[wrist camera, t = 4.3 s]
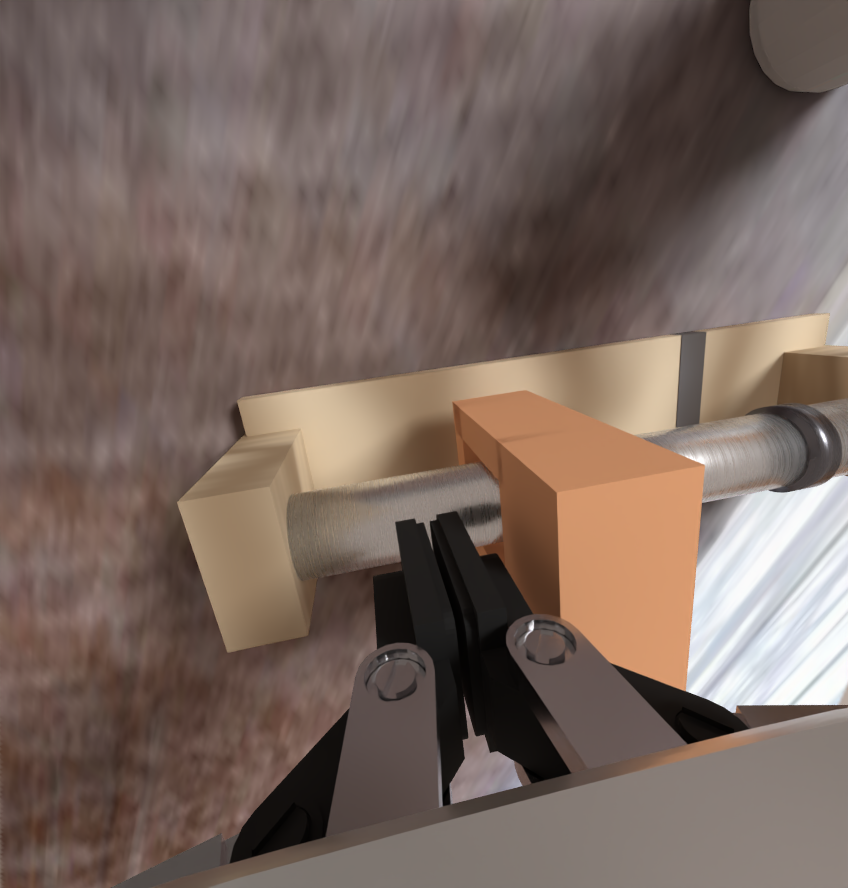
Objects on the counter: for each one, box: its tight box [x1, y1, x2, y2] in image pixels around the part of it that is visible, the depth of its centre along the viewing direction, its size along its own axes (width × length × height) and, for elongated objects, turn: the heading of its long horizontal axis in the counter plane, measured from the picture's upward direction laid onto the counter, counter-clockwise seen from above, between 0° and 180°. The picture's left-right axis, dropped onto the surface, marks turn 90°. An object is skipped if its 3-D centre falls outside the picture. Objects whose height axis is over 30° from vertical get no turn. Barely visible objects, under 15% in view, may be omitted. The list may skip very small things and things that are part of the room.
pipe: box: [286, 398, 848, 581], centre depth 15 cm, size 25×3×3 cm, turn 97°
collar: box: [452, 390, 705, 691], centre depth 13 cm, size 3×6×9 cm, turn 7°
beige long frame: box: [177, 313, 848, 653], centre depth 17 cm, size 27×8×7 cm, turn 97°
